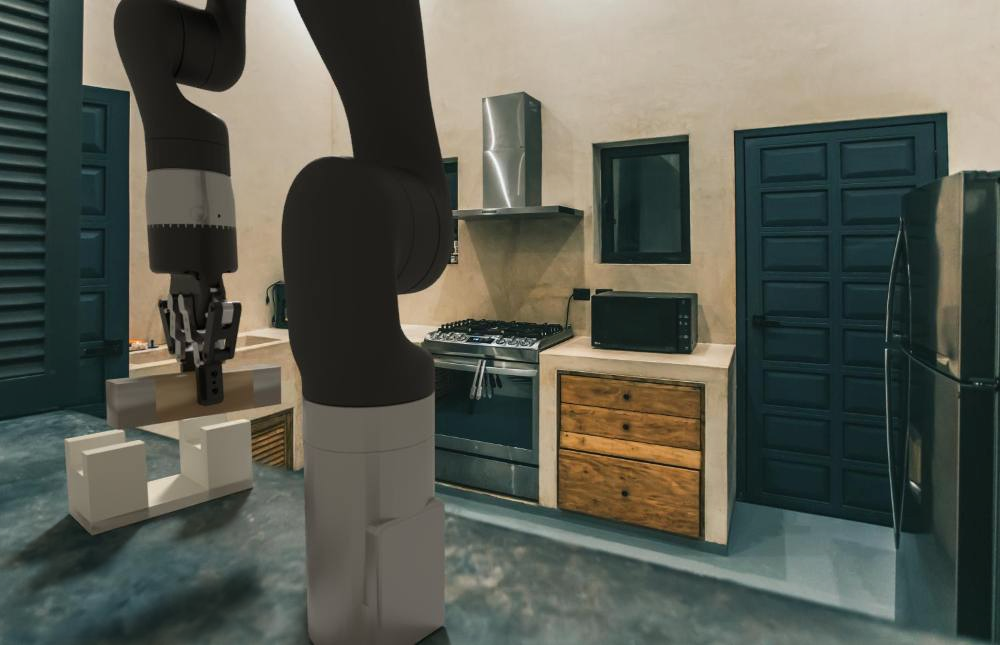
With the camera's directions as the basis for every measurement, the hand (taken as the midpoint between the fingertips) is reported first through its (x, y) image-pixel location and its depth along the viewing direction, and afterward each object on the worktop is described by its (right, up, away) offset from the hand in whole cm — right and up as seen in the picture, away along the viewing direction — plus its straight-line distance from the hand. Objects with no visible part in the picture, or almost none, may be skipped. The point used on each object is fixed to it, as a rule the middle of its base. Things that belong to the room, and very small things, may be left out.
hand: (202, 400), depth 56 cm
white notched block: (-8, -12, +8) cm, 16 cm away
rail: (0, -1, 0) cm, 1 cm away
